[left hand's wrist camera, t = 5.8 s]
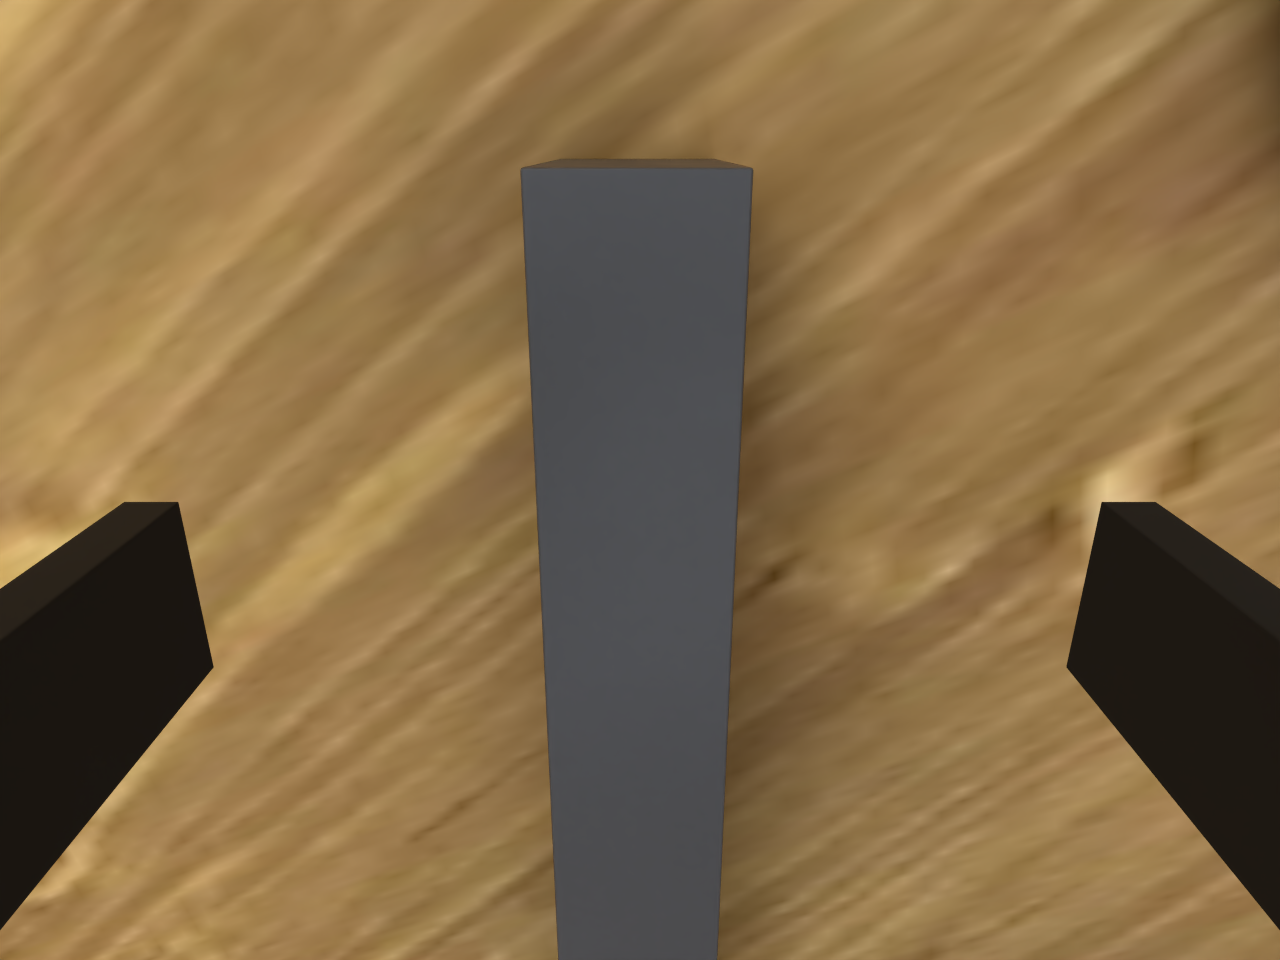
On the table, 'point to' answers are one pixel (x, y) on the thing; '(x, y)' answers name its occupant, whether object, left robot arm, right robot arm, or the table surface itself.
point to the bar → (637, 534)
